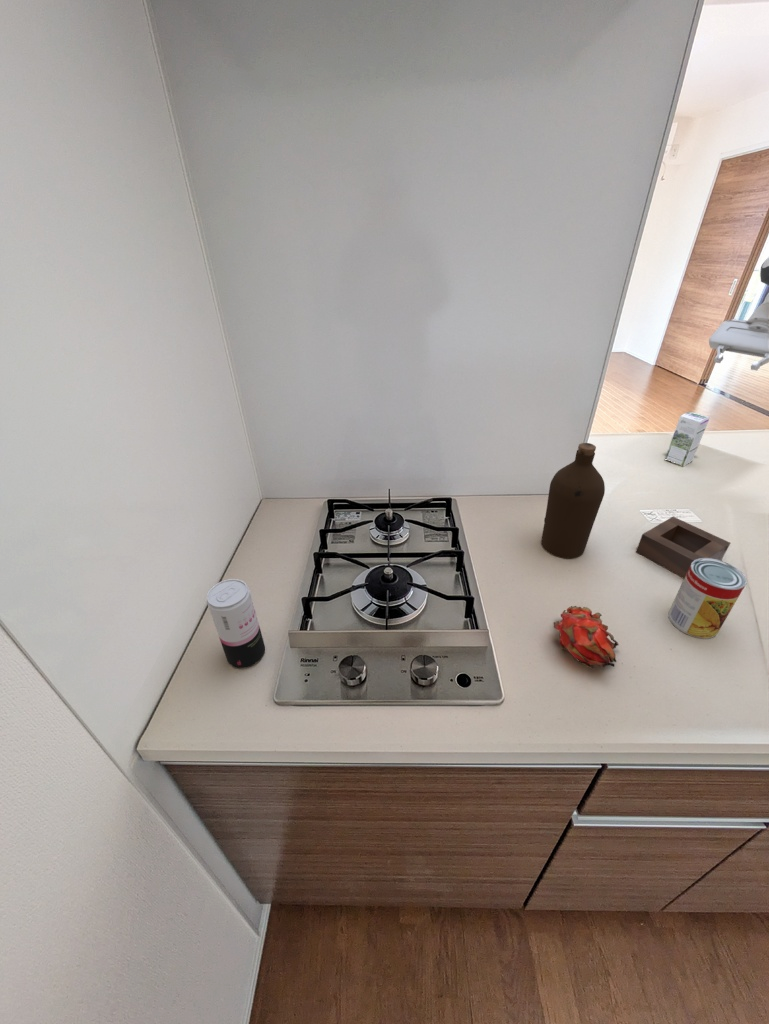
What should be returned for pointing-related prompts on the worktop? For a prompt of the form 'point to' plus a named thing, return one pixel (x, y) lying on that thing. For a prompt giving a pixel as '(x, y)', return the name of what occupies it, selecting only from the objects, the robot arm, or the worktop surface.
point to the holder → (680, 545)
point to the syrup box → (686, 438)
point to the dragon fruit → (586, 637)
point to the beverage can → (236, 622)
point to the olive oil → (573, 505)
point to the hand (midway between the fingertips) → (734, 365)
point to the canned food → (706, 597)
